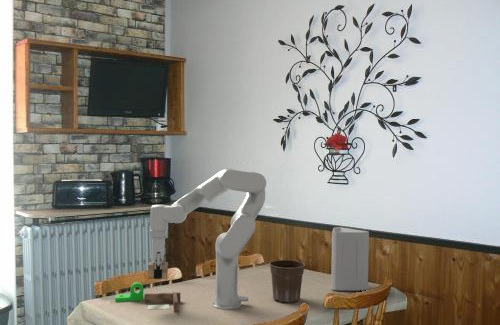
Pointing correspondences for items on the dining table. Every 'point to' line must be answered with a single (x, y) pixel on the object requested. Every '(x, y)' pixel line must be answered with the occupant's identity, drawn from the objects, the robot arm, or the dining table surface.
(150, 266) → the block
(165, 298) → the arena
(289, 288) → the plant pot
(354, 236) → the grey tall block
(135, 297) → the mechanical part
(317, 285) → the dining table surface
